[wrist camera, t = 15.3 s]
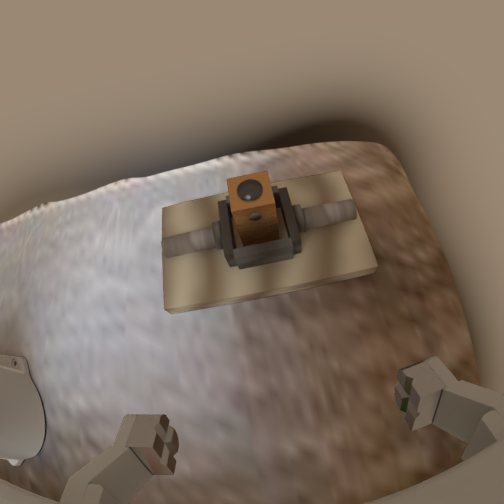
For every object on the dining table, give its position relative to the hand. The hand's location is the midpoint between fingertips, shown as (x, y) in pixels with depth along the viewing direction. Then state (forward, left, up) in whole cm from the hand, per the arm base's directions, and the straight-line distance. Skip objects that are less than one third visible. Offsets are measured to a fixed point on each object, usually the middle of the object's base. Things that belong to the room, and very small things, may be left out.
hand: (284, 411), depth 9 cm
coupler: (-5, +18, -19) cm, 27 cm away
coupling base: (-5, +18, -21) cm, 28 cm away
